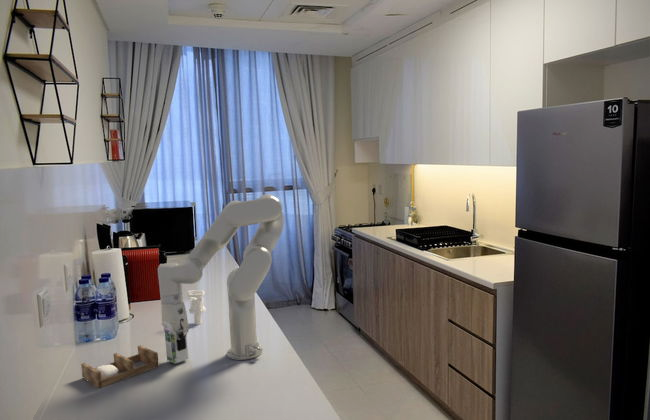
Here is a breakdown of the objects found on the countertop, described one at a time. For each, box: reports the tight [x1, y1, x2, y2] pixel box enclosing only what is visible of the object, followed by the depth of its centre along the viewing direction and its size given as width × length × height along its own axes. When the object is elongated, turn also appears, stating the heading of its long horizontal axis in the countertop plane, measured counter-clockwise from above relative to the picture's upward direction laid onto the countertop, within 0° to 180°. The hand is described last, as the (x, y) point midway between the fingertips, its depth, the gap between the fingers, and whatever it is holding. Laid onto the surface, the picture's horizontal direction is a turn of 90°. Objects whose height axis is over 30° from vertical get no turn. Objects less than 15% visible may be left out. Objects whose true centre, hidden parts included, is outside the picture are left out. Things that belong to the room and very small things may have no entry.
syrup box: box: [163, 321, 189, 365], centre depth 182 cm, size 6×6×14 cm
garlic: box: [96, 364, 120, 380], centre depth 172 cm, size 8×7×4 cm
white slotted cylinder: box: [187, 289, 207, 326], centre depth 224 cm, size 7×7×15 cm
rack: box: [81, 345, 160, 389], centre depth 175 cm, size 12×21×5 cm, turn 138°
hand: (176, 347), depth 182 cm, fingers closed on syrup box, 5 cm apart
